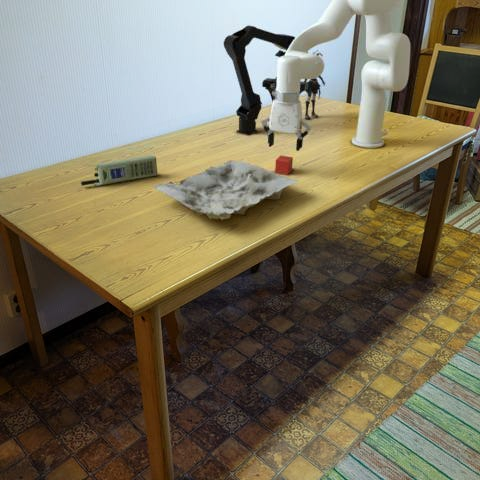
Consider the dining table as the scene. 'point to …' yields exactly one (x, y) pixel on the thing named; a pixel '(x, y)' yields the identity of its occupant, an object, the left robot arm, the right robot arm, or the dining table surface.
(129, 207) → the dining table surface
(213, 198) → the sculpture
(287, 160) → the block
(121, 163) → the handheld radio
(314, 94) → the figurine
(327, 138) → the dining table surface
